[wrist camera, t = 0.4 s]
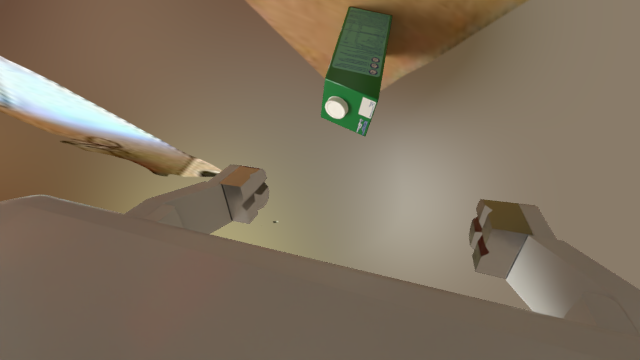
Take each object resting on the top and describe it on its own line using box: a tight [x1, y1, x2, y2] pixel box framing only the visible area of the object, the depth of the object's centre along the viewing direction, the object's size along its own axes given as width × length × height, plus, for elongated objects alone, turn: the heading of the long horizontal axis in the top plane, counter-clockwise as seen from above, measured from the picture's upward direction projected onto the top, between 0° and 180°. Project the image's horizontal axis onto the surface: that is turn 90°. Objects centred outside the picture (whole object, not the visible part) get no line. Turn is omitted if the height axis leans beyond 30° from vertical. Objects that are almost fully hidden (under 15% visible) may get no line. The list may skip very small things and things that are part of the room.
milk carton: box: [321, 7, 392, 136], centre depth 51 cm, size 9×9×25 cm
